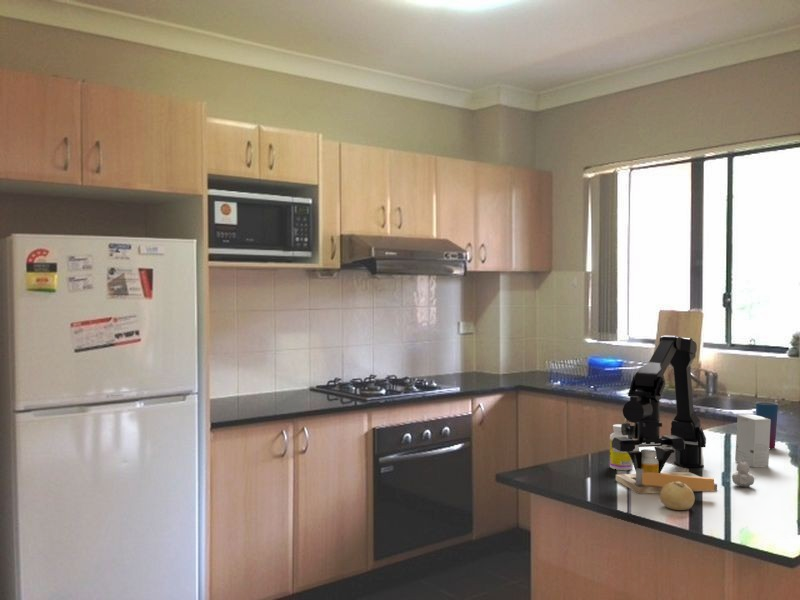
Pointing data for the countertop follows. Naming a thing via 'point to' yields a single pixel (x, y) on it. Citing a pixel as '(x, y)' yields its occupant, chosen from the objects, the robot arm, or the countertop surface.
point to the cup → (769, 417)
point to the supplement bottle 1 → (619, 452)
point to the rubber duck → (743, 475)
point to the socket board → (630, 482)
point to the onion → (677, 496)
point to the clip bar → (673, 480)
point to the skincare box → (753, 440)
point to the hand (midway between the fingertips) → (648, 474)
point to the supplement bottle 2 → (649, 461)
